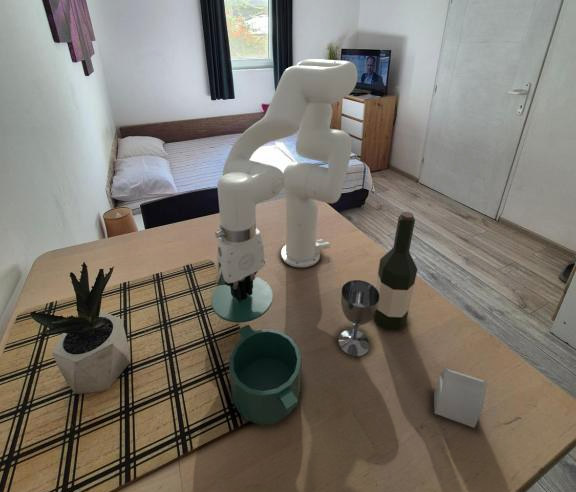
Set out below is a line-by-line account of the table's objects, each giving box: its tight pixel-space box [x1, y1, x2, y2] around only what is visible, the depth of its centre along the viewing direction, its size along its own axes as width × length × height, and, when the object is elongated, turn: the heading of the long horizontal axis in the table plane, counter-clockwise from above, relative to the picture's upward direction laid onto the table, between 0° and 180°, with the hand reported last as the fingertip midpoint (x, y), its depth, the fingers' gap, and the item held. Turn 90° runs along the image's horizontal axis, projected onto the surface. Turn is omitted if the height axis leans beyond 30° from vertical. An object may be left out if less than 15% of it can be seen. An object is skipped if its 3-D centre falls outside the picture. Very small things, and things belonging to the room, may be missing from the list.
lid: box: [210, 276, 274, 324], centre depth 77 cm, size 15×15×7 cm
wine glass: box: [338, 279, 379, 358], centre depth 72 cm, size 8×8×15 cm
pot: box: [228, 324, 302, 426], centre depth 64 cm, size 14×19×8 cm
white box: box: [433, 368, 488, 429], centre depth 60 cm, size 4×7×10 cm, turn 69°
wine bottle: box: [373, 211, 418, 331], centre depth 76 cm, size 8×8×30 cm
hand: (242, 294), depth 77 cm, fingers closed on lid, 2 cm apart
